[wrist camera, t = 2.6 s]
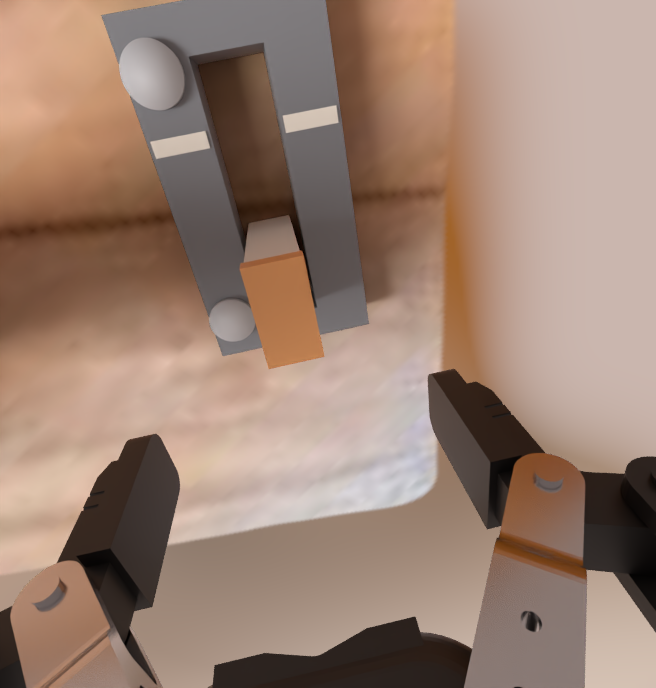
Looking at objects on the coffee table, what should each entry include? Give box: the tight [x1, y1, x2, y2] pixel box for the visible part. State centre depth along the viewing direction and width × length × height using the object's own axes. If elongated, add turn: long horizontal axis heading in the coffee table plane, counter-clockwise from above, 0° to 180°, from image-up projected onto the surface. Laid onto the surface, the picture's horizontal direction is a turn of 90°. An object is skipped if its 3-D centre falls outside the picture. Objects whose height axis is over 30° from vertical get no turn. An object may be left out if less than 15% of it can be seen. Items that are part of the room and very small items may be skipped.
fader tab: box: [240, 215, 324, 369], centre depth 23 cm, size 3×5×10 cm, turn 10°
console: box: [101, 0, 369, 356], centre depth 23 cm, size 10×18×4 cm, turn 9°
